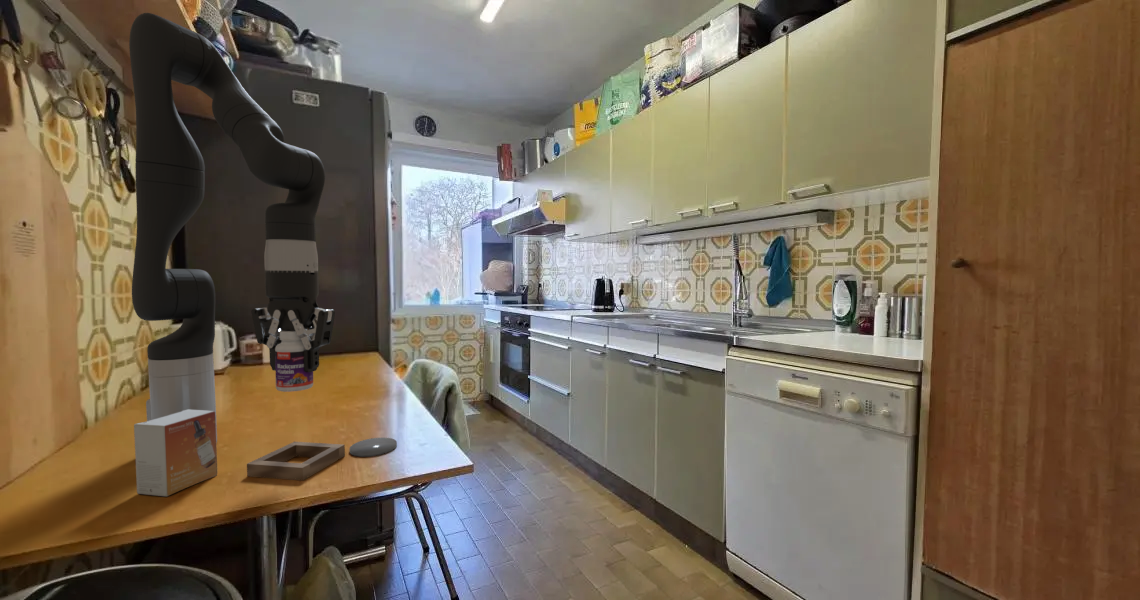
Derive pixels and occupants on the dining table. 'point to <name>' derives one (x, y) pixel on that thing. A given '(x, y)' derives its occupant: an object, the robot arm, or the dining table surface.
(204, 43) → the robot arm
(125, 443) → the dining table surface
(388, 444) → the coaster
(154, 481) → the small box
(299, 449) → the frame
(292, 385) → the pill bottle
